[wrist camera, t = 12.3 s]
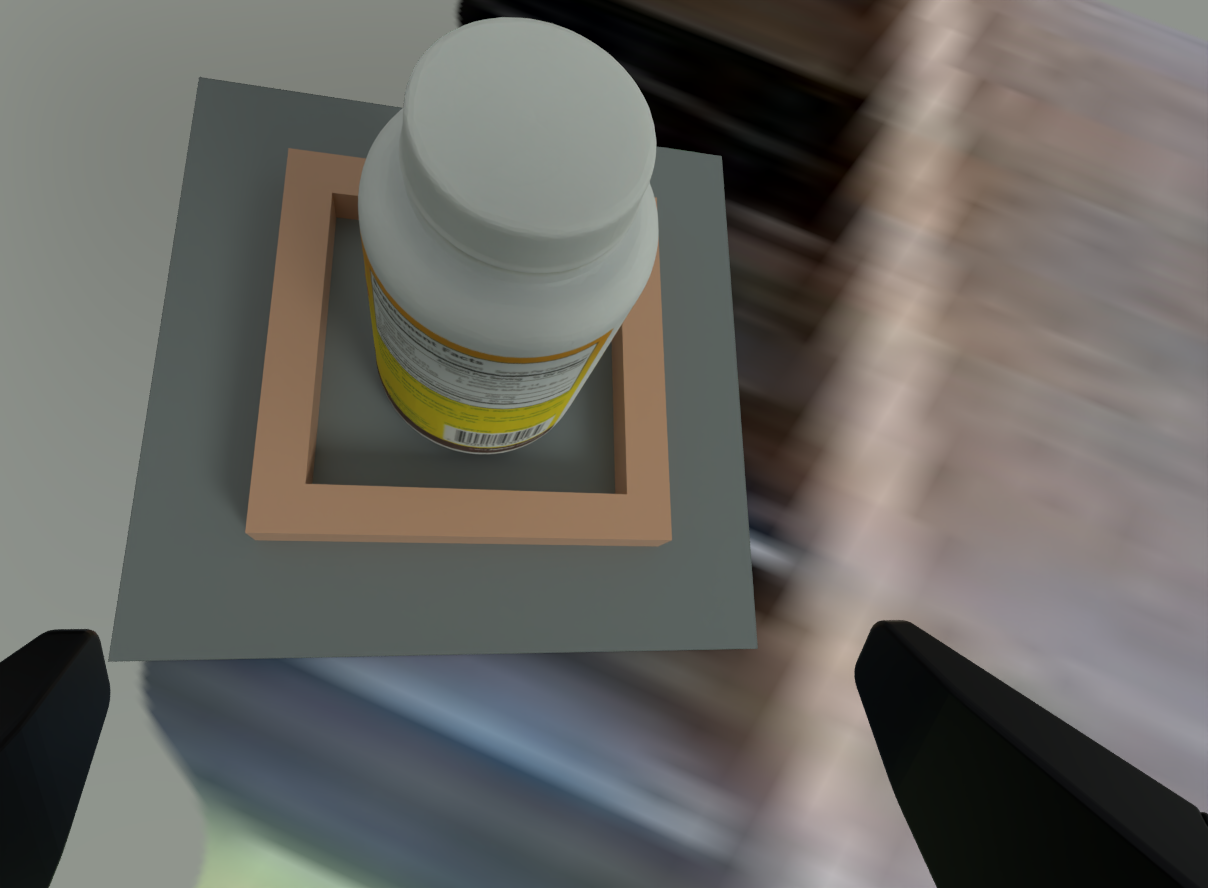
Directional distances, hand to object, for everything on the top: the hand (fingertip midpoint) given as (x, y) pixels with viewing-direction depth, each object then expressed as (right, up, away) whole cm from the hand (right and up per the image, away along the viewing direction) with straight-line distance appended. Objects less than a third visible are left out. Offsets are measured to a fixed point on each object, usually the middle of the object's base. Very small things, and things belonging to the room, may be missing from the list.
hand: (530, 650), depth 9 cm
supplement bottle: (-3, +5, +12) cm, 13 cm away
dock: (-3, +5, +13) cm, 14 cm away
